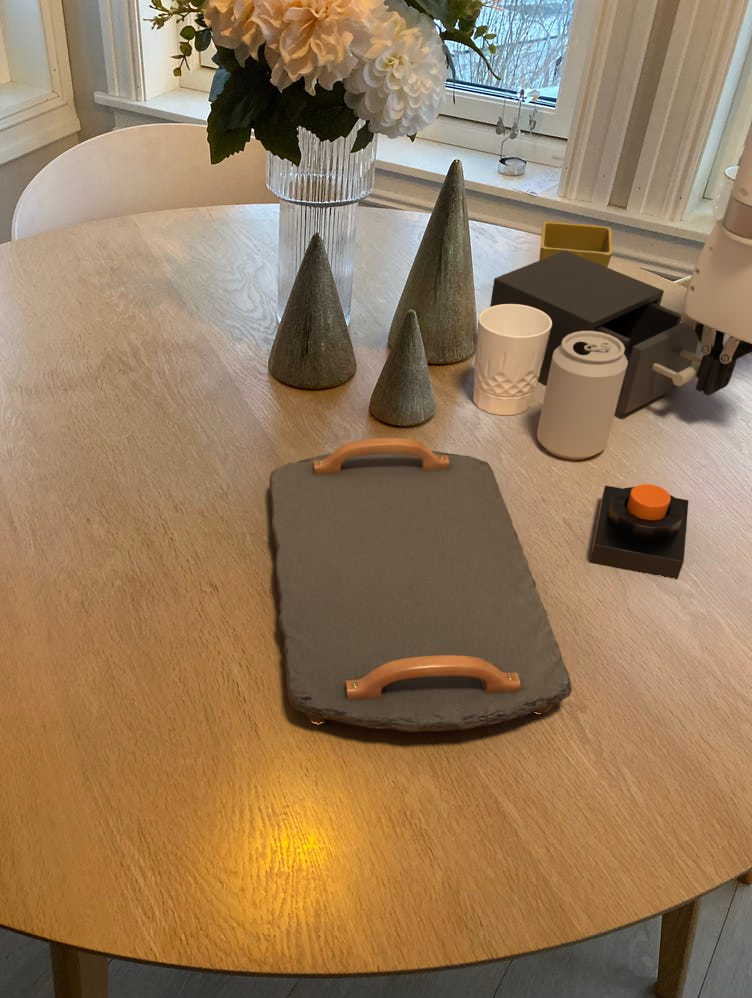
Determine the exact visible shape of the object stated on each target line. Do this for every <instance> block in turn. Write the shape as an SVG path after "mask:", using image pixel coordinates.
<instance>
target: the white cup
mask: <svg viewBox="0 0 752 998" xmlns="http://www.w3.org/2000/svg"><path fill="white" fill-rule="evenodd" d="M551 327H552V320H551V318H550V317H549V316H548V315H547V314H546V313H544V312H543V311H541V310H539V309H536V308H533V307H530V306H525V305H519V304H502V305H496V306H492V307H490V306H489V307H487V308H485V309H483V310H482V311H481V312H480V313H479V316H478V321H477V333H476V343H475V355H474V367H473V368H474V371H473V379H474V381H473V392H472V393H473V395H472V402H473V403H474V404H475V406H477V408H478V409H480V410H482V411H484V412H486V413H487V414H492V415H496V416H497V415H498V416H516V415H519V414H522V413H525V412H526V411H527V410H528V409H529V408H530V407H531V406H532V403H533V399H534V395H535V390H536V386H537V384H538V382H539V381H538V379H539V375H540V370H541V367H542V364H543V360H544V356H545V352H546V347H547V343H548V339H549V335H550V331H551Z"/></svg>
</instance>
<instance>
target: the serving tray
mask: <svg viewBox="0 0 752 998" xmlns="http://www.w3.org/2000/svg"><path fill="white" fill-rule="evenodd" d="M269 492H270V507H271V527H270V528H271V532H272V535H273V538H274V544H275V548H276V553H275V560H274V568H275V573H274V576H275V580H276V583H277V593H278V597H279V606H278V613H279V615H278V618H277V622H278V626H279V628H280V631H281V632H282V638H283V640H284V644H283V652H284V656H285V657H284V667H285V677H286V679H285V680H286V688H287V689H286V690H287V697H288V699H289V702H290V706H292V707H293V709H295V710H297V711H300V712H302V713H304V715H305V717H306V719H307V718H308V719H309V720H310V721H313V722H317V723H320V722H324V721H326V720H327V721H328V720H331V721H335V722H339V723H344V724H346V725H350V726H359V727H360V726H361V727H364V728H368V729H369V728H370V729H383V730H385V729H388V730H395V731H399V732H405V733H407V732H408V733H419V732H441V731H442V732H443V731H459V730H460V731H462V730H471V729H474V728H478V727H485V726H486V727H488V726H491V725H496V724H499V723H505V722H508V721H510V720H514V719H515V718H522V717H525V716H527V715H529V714H531V713H532V712H537V713H544V712H545V713H547V712H549V711H550V710H551V709H552V708H553V705H557V704H558V703H560V702H562V701H564V700H565V699H567V698H569V697H570V696H571V694H572V691H573V689H572V681H571V678H570V674H569V671H568V669H567V667H566V664H565V662H564V659H563V656H562V652H561V649H560V645H559V643H558V641H557V640H556V637H555V634H554V632H553V628H552V626H551V622H550V620H549V614H548V612H547V610H546V609H545V606H544V604H543V602H542V600H541V597H540V593H539V592H538V589H537V584H536V580H535V579H534V577H533V574H532V571H531V570H530V567H529V562H528V559H527V557H526V555H525V554H524V549H523V546H522V544H521V542H520V539H519V538H518V533H517V531H516V529H515V527H514V524H513V521H512V517H511V514H510V513H509V510H508V507H507V505H506V501H505V500H504V497H503V495H502V492H501V488H500V486H499V483H498V480H497V479H496V476H495V473H494V470H493V468H492V466H491V465H490V464H489V463H488V461H485V460H482V459H479V458H477V457H473V456H470V455H462V454H457V453H448V452H443V451H436V450H431V449H430V448H429V447H428V446H427V445H426V444H424V443H422V442H421V441H419V440H416V439H412V438H411V439H410V438H403V437H377V438H366V439H365V438H364V439H360V440H355V441H354V440H353V441H350V442H348V443H345V444H343V445H341V446H339V447H338V448H337V449H335V450H334V451H333V452H331V453H326V454H322V455H317V456H316V455H315V456H311V457H309V458H305V459H300V460H298V461H295V462H289V463H285V464H283V465H282V466H278V468H275V469H274V470H272V471H271V473H270V476H269ZM545 713H544V714H545ZM308 719H307V720H308ZM309 720H308V721H309ZM310 721H309V722H310ZM327 721H326V722H327Z"/></svg>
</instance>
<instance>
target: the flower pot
mask: <svg viewBox="0 0 752 998" xmlns="http://www.w3.org/2000/svg"><path fill="white" fill-rule="evenodd" d="M612 233H613V230H612V227H610V226H602V225H593V224H585V223H583V224H582V223H571V222H556V221H543V222H542V228H541V240H540V249H539V260H538V261H540V260H542V259H545V258H547V257H550V256H552V255H555V254H557V253H560V252H562V251H568V252H570V253H573V254H575V255H577V256H580V257H582V258H585V259H587V260H590V261H592V262H595V263H597V264H600V265H602V266H605V267H607V268H609V264H610V261H611V258H612V256H613V234H612Z"/></svg>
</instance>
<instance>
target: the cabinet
mask: <svg viewBox="0 0 752 998" xmlns="http://www.w3.org/2000/svg"><path fill="white" fill-rule="evenodd" d="M664 291H665V290H663V289H661V288H659V287H656V286H654V285H651V284H649V283H646V282H644V281H641V280H639V279H637V278H634V277H632V276H630V275H626V274H624V273H622V272H619V271H617V270H614V269H612V268H609V267H605V266H602V265H600V264H597V263H595V262H592V261H590V260H587V259H585V258H582V257H580V256H577V255H575V254H573V253H570V252H568V251H562V252H560V253H557V254H555V255H552V256H550V257H547V258H545V259H542V260H540V261H539V260H537V261H534V262H532V263H529V264H527V265H524V266H522V267H519V268H517V269H515V270H512V271H509V272H506V273H504V274H502V275H500V276H497V277H494V279H493V286H492V292H491V299H490V306H489V307H492V306H496V305H502V304H519V305H525V306H530V307H533V308H536V309H539V310H541V311H543V312H544V313H546V314H547V315H548V316H549V317H550V318H551V320H552V327H551V331H550V335H549V339H548V343H547V347H546V352H545V356H544V360H543V364H542V367H541V370H540V375H539V379H538V382H539V383H541V384H542V385H544V386H547V381H548V376H549V371H550V366H551V361H552V356H553V353H554V350H555V349H557V348H558V347H559V346H560V345H561V343H562V340H563V338H565V337H566V336H567V335H569V334H571V333H574V332H579V331H595V330H596V327H598V326H600V325H602V324H604V323H607V322H609V321H611V320H613V319H615V318H618V317H620V316H622V315H624V314H626V313H628V312H631V311H633V310H635V309H637V308H639V307H642V306H644V305H646V304H648V303H650V302H653V303H655V304H658V305H660V306H661V304H662V300H663V296H664Z"/></svg>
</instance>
